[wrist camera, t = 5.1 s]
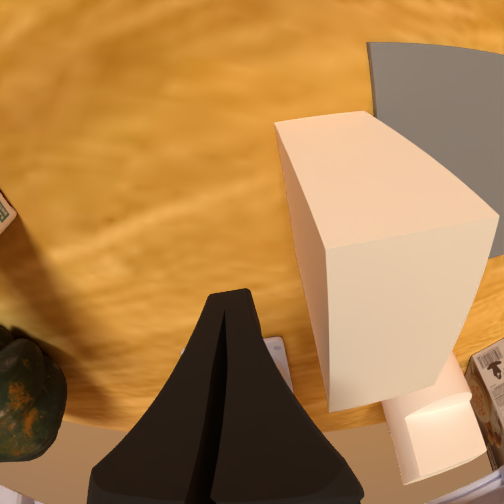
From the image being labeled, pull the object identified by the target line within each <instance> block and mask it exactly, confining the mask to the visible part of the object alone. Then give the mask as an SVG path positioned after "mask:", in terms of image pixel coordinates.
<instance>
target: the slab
mask: <svg viewBox="0 0 504 504" xmlns="http://www.w3.org/2000/svg"><path fill="white" fill-rule="evenodd" d="M274 125H275V130H276V136H277V142H278V147H279V153H280V159H281V165H282V170H283V176H284V183H285V189H286V195H287V201H288V208H289V214H290V221H291V227H292V234H293V241H294V248H295V255H296V259H297V263H298V268H299V272H300V276H301V280H302V285H303V289H304V294H305V298H306V302H307V307H308V311H309V316H310V321H311V325H312V330H313V335H314V339H315V344H316V349H317V354H318V359H319V363H320V368H321V373H322V378H323V384H324V389H325V394H326V399H327V404H328V410H329V413H331V412H336V411H341V410H346V409H350V408H355V407H359V406H363V405H367V404H371V403H375V402H379V401H383V400H387V399H390V398H394V397H397V396H401V395H404V394H407V393H411V392H414V391H417V390H420V389H423V388H426V387H429V386H432V385H434V384H435V382H436V380H437V379H438V377H439V375H440V373H441V371H442V369H443V367H444V365H445V363H446V361H447V359H448V357H449V355H450V353H451V351H452V349H453V347H454V345H455V343H456V341H457V338H458V336H459V334H460V332H461V329H462V327H463V325H464V323H465V320H466V318H467V315H468V313H469V311H470V308H471V306H472V303H473V300H474V298H475V295H476V292H477V290H478V287H479V284H480V281H481V278H482V276H483V273H484V270H485V266H486V263H487V260H488V257H489V254H490V250H491V247H492V243H493V240H494V236H495V232H496V229H497V225H498V221H499V215H498V214H497V213H496V212H495V211H494V210H493V209H492V208H491V207H490V206H489V205H488V204H487V203H486V202H485V201H483V200H482V199H481V198H480V197H479V196H478V195H477V194H476V193H475V192H473V191H472V190H471V189H470V188H469V187H468V186H467V185H465V184H464V183H463V182H462V181H461V180H460V179H458V178H457V177H456V176H455V175H454V174H452V173H451V172H450V171H449V170H447V169H446V168H445V167H444V166H442V165H441V164H440V163H439V162H437V161H436V160H435V159H433V158H432V157H431V156H430V155H428V154H427V153H426V152H424V151H423V150H421V149H420V148H419V147H417V146H416V145H415V144H413V143H412V142H410V141H409V140H408V139H406V138H405V137H403V136H402V135H400V134H399V133H398V132H396V131H395V130H393V129H392V128H390V127H389V126H387V125H386V124H384V123H383V122H381V121H379V120H378V119H376V118H375V117H373V116H372V115H370V114H368V113H367V112H365V111H357V112H347V113H338V114H330V115H322V116H314V117H307V118H300V119H293V120H287V121H281V122H275V123H274Z"/></svg>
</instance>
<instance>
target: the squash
mask: <svg viewBox="0 0 504 504" xmlns="http://www.w3.org/2000/svg"><path fill="white" fill-rule="evenodd" d="M66 399H67V384H66V379H65V376H64V374H63V372H62V370H61V368H60V367H59V366H58V365H57V363H56V362H54V361H53V360H52V359H51V358H49V357H47V356H45V355H43V354H42V352H41V350H40V348H39V347H38V345H36V344H35V343H34V342H32V341H30V340H28V339H17V340H14V338H13V336H12V334H11V333H10V332H9V331H8V330H7V329H5V328H3V327H1V326H0V462H20V461H30V460H33V459H36V458H38V457H40V456H42V455H43V454H44V453H45V452H46V451H47V449H48V448H49V447H50V446H51V445H52V444H53V443H54V441H55V439H56V437H57V434H58V430H59V428H60V426H61V422H62V418H63V415H64V411H65V406H66Z"/></svg>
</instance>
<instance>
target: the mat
mask: <svg viewBox="0 0 504 504" xmlns="http://www.w3.org/2000/svg"><path fill="white" fill-rule="evenodd" d="M366 43H367V50H368V58H369V66H370V75H371V84H372V95H373V107H374V117H375V118H376V119H378V120H379V121H381V122H383V123H384V124H386V125H387V126H389V127H390V128H392V129H393V130H395V131H396V132H398V133H399V134H400V135H402V136H403V137H405V138H406V139H408V140H409V141H410V142H412V143H413V144H415V145H416V146H417V147H419V148H420V149H421V150H423V151H424V152H426V153H427V154H428V155H430V156H431V157H432V158H433V159H435V160H436V161H437V162H439V163H440V164H441V165H442V166H444V167H445V168H446V169H447V170H449V171H450V172H451V173H452V174H454V175H455V176H456V177H457V178H458V179H460V180H461V181H462V182H463V183H464V184H465V185H467V186H468V187H469V188H470V189H471V190H472V191H473V192H475V193H476V194H477V195H478V196H479V197H480V198H481V199H482V200H483V201H485V202H486V203H487V204H488V205H489V206H490V207H491V208H492V209H493V210H494V211H495V212H496V213H497V214H498V215H499V221H498V225H497V229H496V232H495V236H494V240H493V243H492V247H491V250H490V254H489V257H488V259H489V258H493V257H496V256H500V255H503V254H504V55H502V54H497V53H492V52H486V51H480V50H474V49H467V48H460V47H452V46H442V45H431V44H417V43H392V42H366Z"/></svg>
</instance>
